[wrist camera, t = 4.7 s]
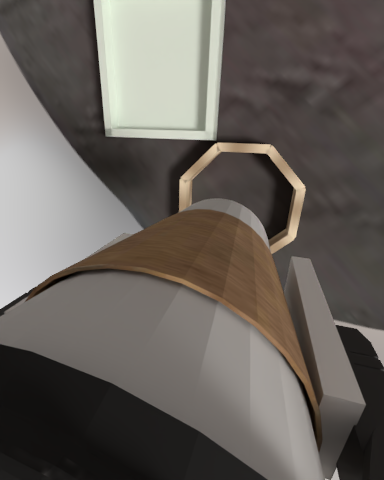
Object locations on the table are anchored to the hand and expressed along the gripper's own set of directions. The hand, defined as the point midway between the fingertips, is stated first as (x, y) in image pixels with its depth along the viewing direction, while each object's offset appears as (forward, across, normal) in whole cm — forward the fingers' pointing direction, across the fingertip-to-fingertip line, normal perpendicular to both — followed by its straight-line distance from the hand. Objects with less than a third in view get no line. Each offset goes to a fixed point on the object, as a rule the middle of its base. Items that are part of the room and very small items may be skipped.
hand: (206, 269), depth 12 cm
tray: (+17, -9, +12) cm, 23 cm away
